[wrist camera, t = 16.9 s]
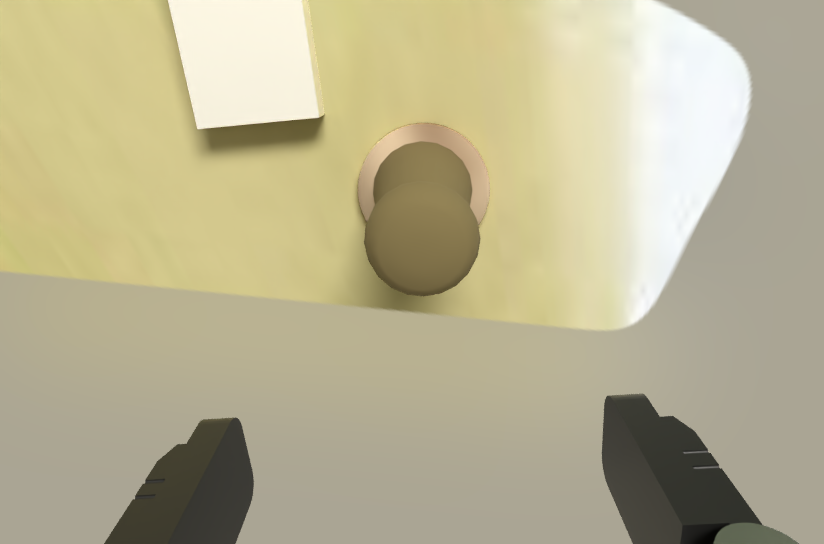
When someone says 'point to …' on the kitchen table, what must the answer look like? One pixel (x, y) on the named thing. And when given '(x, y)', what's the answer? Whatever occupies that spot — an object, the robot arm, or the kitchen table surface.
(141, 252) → the kitchen table surface
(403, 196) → the pepper shaker
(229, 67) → the tile
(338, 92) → the kitchen table surface
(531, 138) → the kitchen table surface
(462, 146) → the disc
